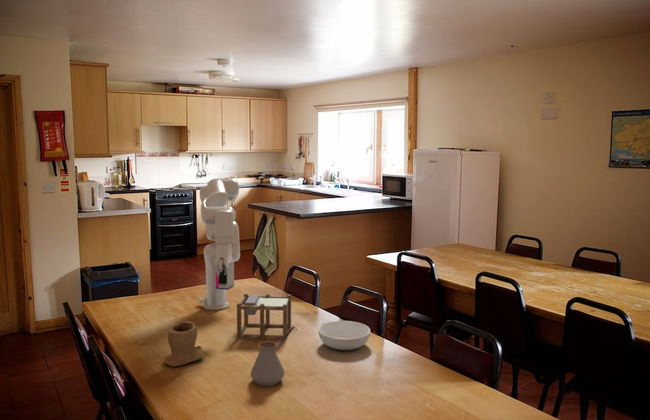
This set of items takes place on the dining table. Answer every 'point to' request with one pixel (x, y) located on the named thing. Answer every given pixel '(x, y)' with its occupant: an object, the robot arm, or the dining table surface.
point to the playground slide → (263, 302)
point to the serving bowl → (344, 334)
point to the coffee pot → (268, 363)
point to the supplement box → (229, 277)
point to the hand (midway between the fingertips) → (224, 280)
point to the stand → (285, 325)
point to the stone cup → (183, 344)
